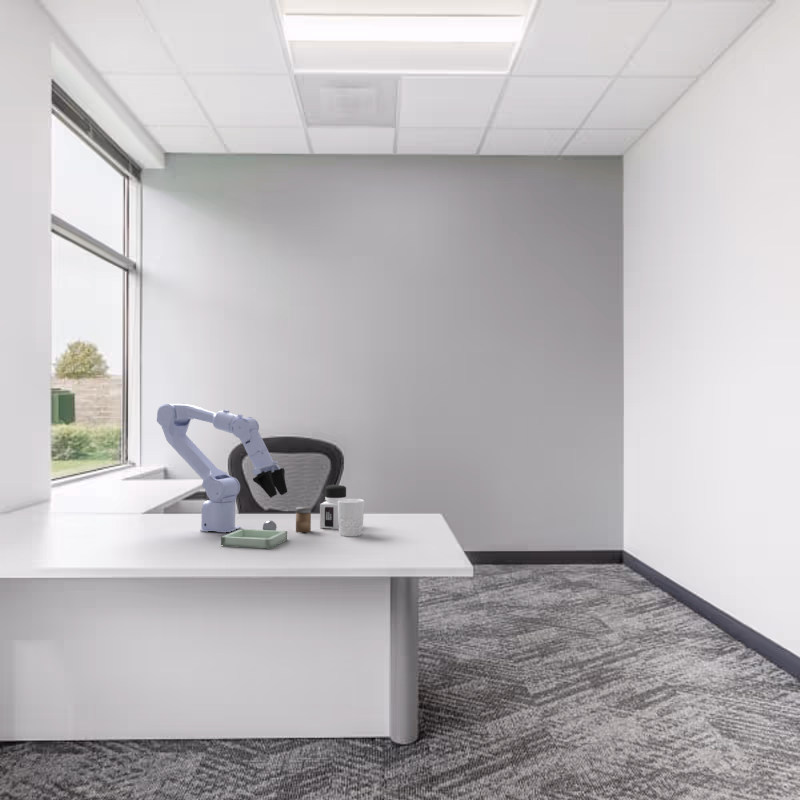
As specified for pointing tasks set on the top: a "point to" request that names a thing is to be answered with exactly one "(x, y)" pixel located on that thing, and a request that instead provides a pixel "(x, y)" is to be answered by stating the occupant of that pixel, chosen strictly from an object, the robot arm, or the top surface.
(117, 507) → the top surface
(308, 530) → the cylinder
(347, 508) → the white cup
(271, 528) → the ball
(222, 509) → the robot arm
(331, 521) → the container
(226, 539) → the tray
